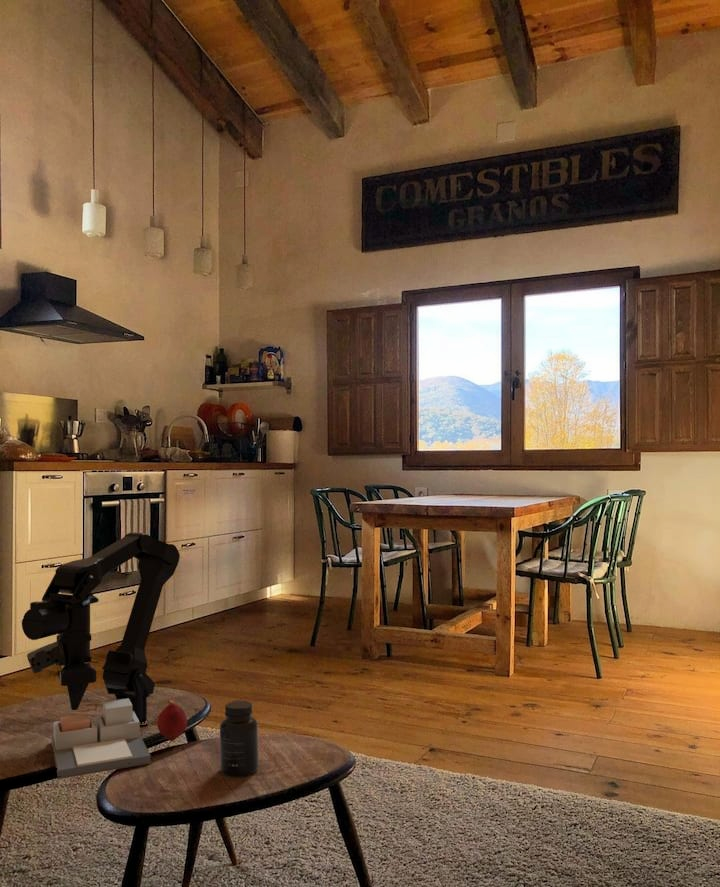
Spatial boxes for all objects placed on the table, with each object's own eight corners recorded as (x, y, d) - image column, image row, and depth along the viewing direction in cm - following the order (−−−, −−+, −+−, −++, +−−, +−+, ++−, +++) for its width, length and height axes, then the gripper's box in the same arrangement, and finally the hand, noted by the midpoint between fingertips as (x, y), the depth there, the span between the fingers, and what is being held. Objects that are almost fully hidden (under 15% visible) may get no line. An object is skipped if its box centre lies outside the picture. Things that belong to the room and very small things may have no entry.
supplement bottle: (227, 761, 146) (227, 697, 146) (262, 764, 145) (262, 698, 145) (214, 777, 139) (214, 709, 139) (251, 779, 138) (251, 711, 138)
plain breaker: (128, 717, 159) (128, 698, 159) (132, 725, 155) (132, 705, 155) (102, 721, 157) (102, 701, 157) (106, 729, 153) (106, 708, 153)
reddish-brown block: (87, 733, 156) (87, 713, 156) (89, 742, 152) (89, 721, 152) (60, 737, 154) (60, 717, 154) (62, 746, 149) (62, 725, 149)
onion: (185, 733, 160) (185, 694, 160) (188, 743, 155) (188, 703, 155) (156, 737, 158) (156, 697, 159) (158, 747, 153) (158, 706, 153)
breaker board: (134, 730, 162) (134, 708, 162) (150, 763, 145) (150, 739, 145) (51, 742, 156) (51, 720, 156) (58, 778, 138) (58, 753, 138)
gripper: (28, 623, 158) (27, 701, 158) (31, 643, 141) (31, 730, 141) (86, 618, 163) (86, 694, 162) (96, 637, 146) (96, 722, 145)
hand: (74, 709), depth 153 cm, fingers closed
